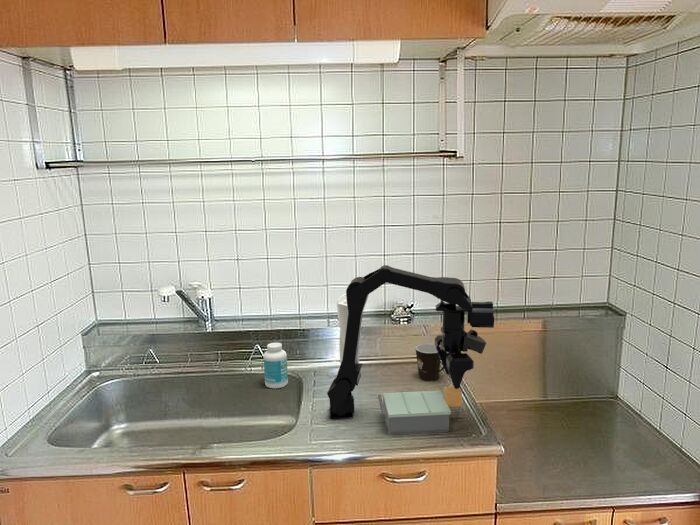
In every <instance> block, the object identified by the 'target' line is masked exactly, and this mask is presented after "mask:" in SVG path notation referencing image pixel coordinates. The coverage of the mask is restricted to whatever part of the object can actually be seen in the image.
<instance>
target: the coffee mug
mask: <svg viewBox="0 0 700 525" xmlns="http://www.w3.org/2000/svg"><path fill="white" fill-rule="evenodd" d="M414 349H415V355H416V364H417V372H418V378H419V379H420V380H421V381H424V382H434V381H437V380H439V376H440V372H443V370H445V369H444V367H443V366H442V367H441V364H442V362H441V359H440V357H439V354H438V352H437V349H436V346H435V343H420V344H418V345H416V346H415V348H414ZM440 368H441V369H440Z"/></svg>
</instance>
